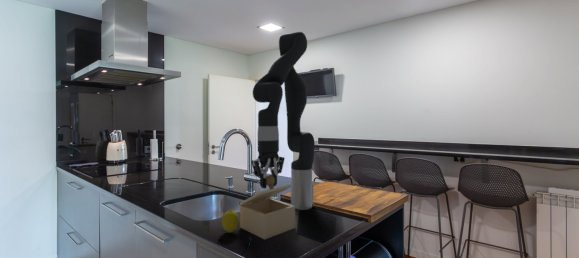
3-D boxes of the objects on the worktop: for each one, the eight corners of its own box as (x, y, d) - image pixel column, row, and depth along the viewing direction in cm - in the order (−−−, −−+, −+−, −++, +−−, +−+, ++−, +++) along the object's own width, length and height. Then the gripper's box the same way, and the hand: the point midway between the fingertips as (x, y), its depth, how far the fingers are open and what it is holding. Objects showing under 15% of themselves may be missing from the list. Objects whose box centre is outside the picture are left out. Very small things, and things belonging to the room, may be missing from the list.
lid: (269, 197, 114) (264, 182, 116) (291, 186, 105) (285, 169, 107) (240, 205, 104) (235, 188, 106) (261, 193, 95) (255, 175, 97)
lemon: (230, 237, 96) (230, 213, 96) (218, 233, 99) (218, 210, 99) (241, 231, 101) (241, 209, 101) (230, 228, 104) (230, 206, 104)
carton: (269, 218, 115) (269, 198, 114) (294, 227, 104) (294, 206, 104) (240, 227, 105) (240, 205, 104) (264, 239, 95) (264, 215, 94)
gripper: (276, 137, 110) (276, 182, 111) (245, 139, 101) (246, 188, 101) (290, 138, 105) (290, 185, 106) (258, 140, 95) (259, 192, 96)
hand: (268, 186), depth 103 cm, fingers closed on lid, 4 cm apart
